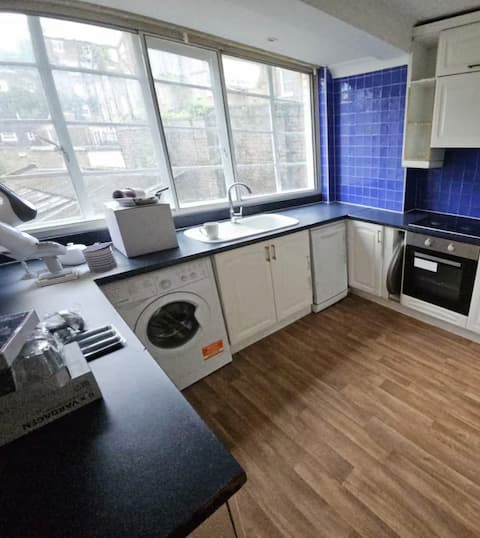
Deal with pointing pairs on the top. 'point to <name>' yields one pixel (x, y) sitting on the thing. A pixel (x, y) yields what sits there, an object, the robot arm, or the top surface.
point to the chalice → (28, 273)
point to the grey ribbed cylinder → (100, 258)
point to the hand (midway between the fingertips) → (51, 257)
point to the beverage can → (52, 264)
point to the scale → (57, 276)
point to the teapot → (73, 255)
